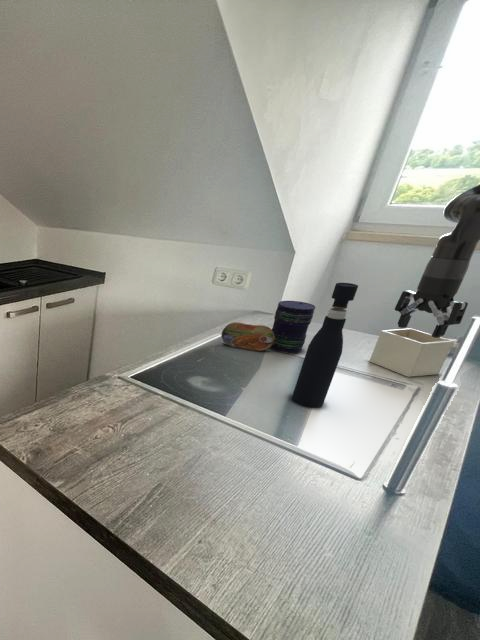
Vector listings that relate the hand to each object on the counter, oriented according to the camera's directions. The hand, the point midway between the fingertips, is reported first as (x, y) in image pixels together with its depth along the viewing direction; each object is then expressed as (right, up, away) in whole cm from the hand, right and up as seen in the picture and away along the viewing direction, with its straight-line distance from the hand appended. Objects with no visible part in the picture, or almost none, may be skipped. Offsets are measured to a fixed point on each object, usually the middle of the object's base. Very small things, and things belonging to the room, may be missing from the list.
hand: (418, 332), depth 110 cm
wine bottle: (-41, -19, -11) cm, 46 cm away
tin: (-36, -4, +22) cm, 42 cm away
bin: (+2, -10, +5) cm, 11 cm away
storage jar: (-23, -4, +20) cm, 31 cm away
